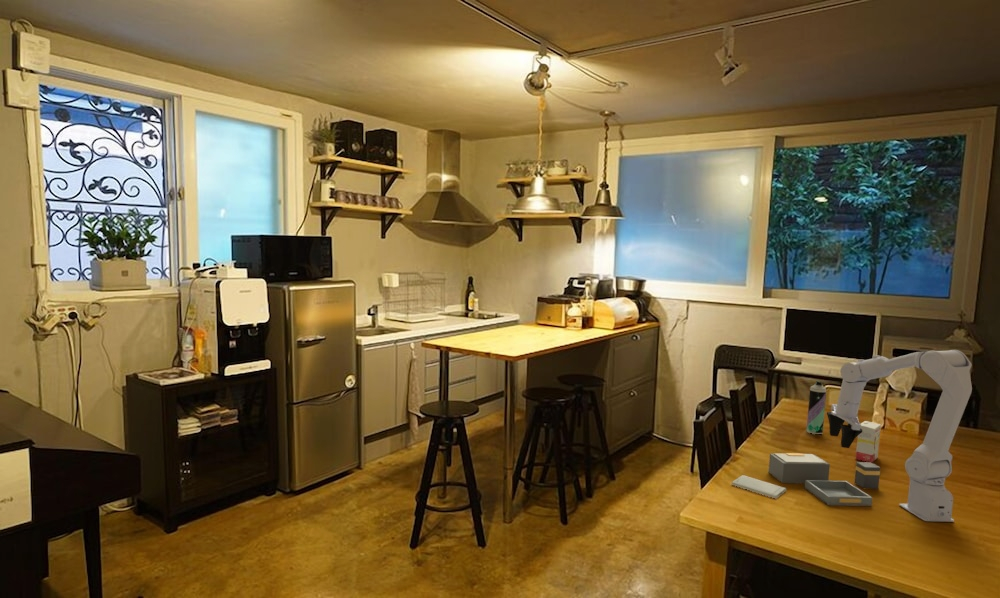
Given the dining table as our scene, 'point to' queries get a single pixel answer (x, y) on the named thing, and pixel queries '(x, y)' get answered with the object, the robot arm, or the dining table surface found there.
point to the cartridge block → (867, 475)
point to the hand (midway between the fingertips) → (839, 441)
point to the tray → (838, 493)
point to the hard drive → (759, 486)
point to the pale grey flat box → (798, 467)
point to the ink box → (868, 441)
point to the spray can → (816, 408)
